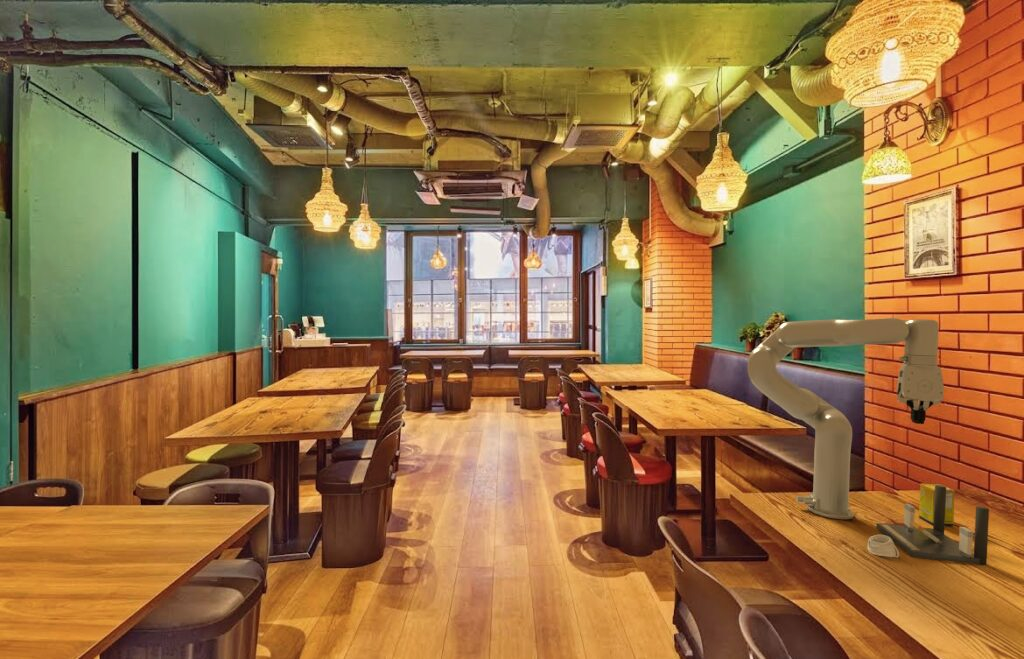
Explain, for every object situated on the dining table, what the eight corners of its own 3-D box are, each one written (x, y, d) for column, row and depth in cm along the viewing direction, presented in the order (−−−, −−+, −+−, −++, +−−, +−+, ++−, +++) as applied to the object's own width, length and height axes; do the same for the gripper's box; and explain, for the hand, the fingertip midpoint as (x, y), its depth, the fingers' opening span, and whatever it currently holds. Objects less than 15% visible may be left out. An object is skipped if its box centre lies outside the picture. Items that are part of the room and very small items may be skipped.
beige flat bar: (909, 527, 140) (910, 507, 140) (903, 523, 143) (904, 503, 143) (914, 528, 140) (915, 507, 140) (907, 523, 143) (908, 503, 143)
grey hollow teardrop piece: (904, 566, 124) (907, 548, 124) (873, 559, 126) (876, 541, 125) (890, 549, 132) (893, 532, 131) (861, 543, 134) (864, 526, 133)
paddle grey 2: (966, 554, 124) (967, 531, 124) (958, 548, 127) (959, 526, 127) (971, 554, 124) (972, 532, 124) (963, 549, 127) (964, 526, 127)
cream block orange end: (937, 543, 132) (917, 528, 133) (930, 538, 135) (910, 524, 136) (940, 540, 132) (920, 525, 133) (932, 535, 135) (913, 521, 136)
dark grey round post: (977, 564, 124) (980, 509, 123) (931, 532, 142) (933, 484, 142) (989, 565, 123) (991, 510, 123) (940, 533, 142) (942, 485, 141)
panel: (912, 556, 127) (912, 549, 127) (876, 528, 144) (876, 521, 144) (980, 564, 124) (980, 556, 124) (935, 533, 141) (935, 527, 141)
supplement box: (938, 518, 153) (940, 483, 152) (953, 526, 147) (955, 490, 146) (918, 517, 153) (919, 482, 153) (932, 525, 147) (934, 489, 147)
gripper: (898, 361, 143) (895, 424, 143) (958, 363, 139) (955, 427, 140) (884, 359, 150) (882, 418, 150) (941, 361, 147) (938, 422, 147)
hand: (917, 422), depth 145 cm, fingers closed
